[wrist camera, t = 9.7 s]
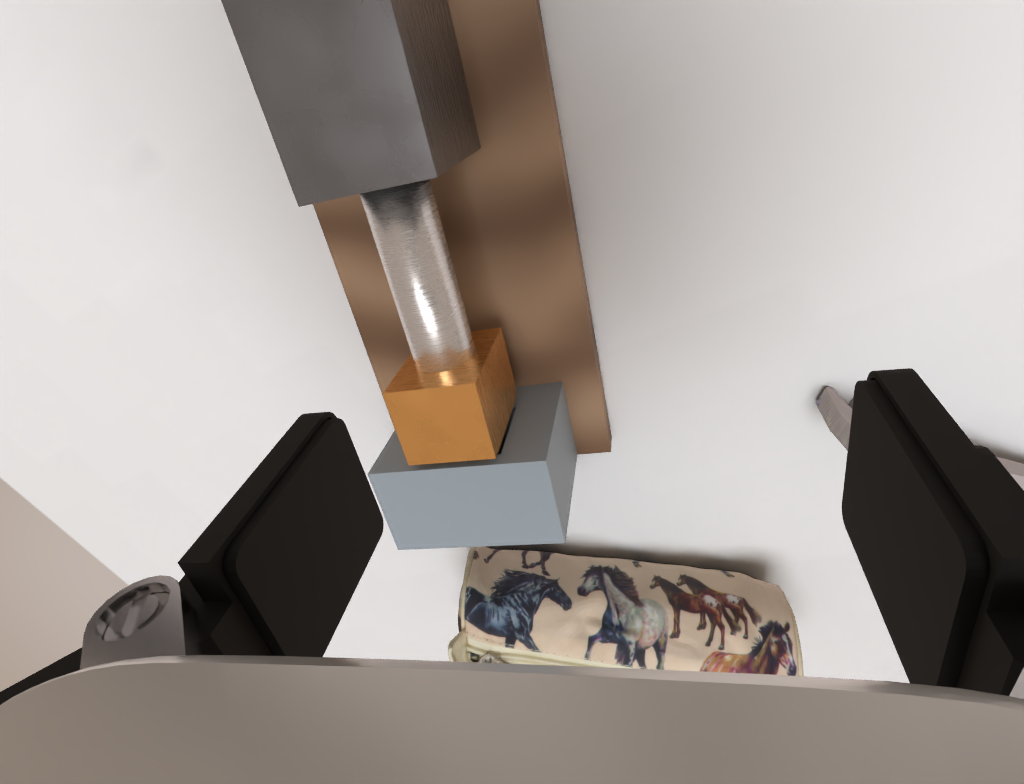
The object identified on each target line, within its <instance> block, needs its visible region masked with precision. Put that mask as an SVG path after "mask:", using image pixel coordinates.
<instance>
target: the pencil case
mask: <svg viewBox="0 0 1024 784" xmlns="http://www.w3.org/2000/svg"><path fill="white" fill-rule="evenodd" d="M458 627H459V633H458V634H457V635H456V636H455V637H454V639H453V640H451V641H450V643H449V645H448V655H449V660H450V662H477V663H504V664H531V665H557V666H583V667H607V668H631V669H654V670H678V671H701V672H725V673H748V674H769V675H787V676H803V662H802V653H801V646H800V639H799V634H798V629H797V625H796V621H795V617H794V614H793V612H792V609H791V607H790V605H789V603H788V601H787V599H786V597H785V595H784V592H783V591H782V590H781V588H780V587H779V586H777V585H774V584H770V583H767V582H765V581H761V580H758V579H753V578H752V577H750V576H748V575H745V574H742V573H738V572H730V571H722V570H713V569H700V568H695V567H689V566H682V565H669V564H657V563H649V562H642V561H636V560H629V559H618V558H596V557H588V556H572V555H564V554H559V553H551V552H542V551H527V550H496V549H493V548H490V547H488V546H481V547H471V549H470V551H469V554H468V558H467V563H466V568H465V574H464V581H463V585H462V588H461V592H460V599H459V612H458Z"/></svg>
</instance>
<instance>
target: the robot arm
mask: <svg viewBox="0 0 1024 784" xmlns="http://www.w3.org/2000/svg"><path fill="white" fill-rule="evenodd" d="M842 515H843V521H844V524H845V527H846V530H847V532H848V535H849V537H850V540H851V542H852V544H853V547H854V549H855V552H856V554H857V556H858V559H859V561H860V564H861V566H862V568H863V571H864V573H865V576H866V578H867V581H868V583H869V585H870V588H871V590H872V593H873V595H874V597H875V600H876V602H877V605H878V607H879V609H880V612H881V614H882V617H883V619H884V622H885V624H886V626H887V629H888V631H889V634H890V636H891V638H892V641H893V643H894V646H895V648H896V650H897V653H898V655H899V658H900V660H901V663H902V665H903V667H904V670H905V672H906V675H907V677H908V679H909V682H910V683H900V682H890V681H873V680H856V679H838V678H821V677H804V676H787V675H769V674H748V673H725V672H701V671H678V670H654V669H631V668H607V667H583V666H557V665H531V664H504V663H477V662H449V661H422V660H392V659H360V658H328V657H323V655H324V653H325V651H326V649H327V647H328V645H329V643H330V641H331V638H332V636H333V634H334V632H335V630H336V628H337V626H338V624H339V622H340V620H341V618H342V616H343V614H344V612H345V610H346V608H347V605H348V603H349V601H350V599H351V597H352V595H353V593H354V591H355V589H356V587H357V585H358V583H359V581H360V579H361V577H362V575H363V572H364V570H365V568H366V566H367V564H368V562H369V560H370V558H371V556H372V554H373V552H374V550H375V548H376V546H377V544H378V542H379V539H380V537H381V535H382V532H383V518H382V515H381V512H380V510H379V507H378V505H377V502H376V500H375V497H374V495H373V492H372V490H371V487H370V485H369V482H368V480H367V477H366V475H365V472H364V470H363V467H362V465H361V462H360V460H359V457H358V455H357V452H356V450H355V447H354V445H353V442H352V440H351V437H350V435H349V432H348V430H347V427H346V425H345V423H344V421H343V420H342V419H339V418H337V417H336V416H335V415H334V414H333V413H331V412H322V413H309V414H302V415H301V416H300V417H299V418H298V419H297V420H296V421H295V423H294V424H293V425H292V426H291V427H290V429H289V430H288V431H287V432H286V433H285V435H284V436H283V437H282V438H281V439H280V441H279V442H278V443H277V444H276V445H275V447H274V448H273V449H272V450H271V451H270V453H269V454H268V455H267V456H266V457H265V459H264V460H263V461H262V462H261V463H260V465H259V466H258V467H257V468H256V469H255V471H254V472H253V473H252V474H251V475H250V477H249V478H248V479H247V480H246V481H245V483H244V484H243V485H242V486H241V487H240V489H239V490H238V491H237V492H236V493H235V495H234V496H233V497H232V498H231V499H230V501H229V502H228V503H227V504H226V505H225V507H224V508H223V509H222V510H221V511H220V513H219V514H218V515H217V516H216V517H215V519H214V520H213V521H212V522H211V523H210V525H209V526H208V527H207V528H206V529H205V531H204V532H203V533H202V534H201V535H200V537H199V538H198V539H197V540H196V541H195V543H194V544H193V545H192V546H191V547H190V549H189V550H188V551H187V552H186V553H185V555H184V556H183V557H182V558H181V559H180V561H179V562H178V564H179V565H180V567H181V568H182V570H183V571H184V573H185V575H184V577H183V578H182V579H181V580H180V582H179V583H178V581H177V580H175V579H174V578H172V577H170V576H161V575H160V576H154V577H149V578H146V579H143V580H140V581H138V582H135V583H133V584H131V585H129V586H128V587H126V588H124V589H122V590H121V591H119V592H118V593H116V594H115V595H114V596H112V597H111V598H110V599H108V600H107V601H106V602H105V603H104V604H103V605H102V606H101V607H100V608H99V609H98V610H97V611H96V612H95V613H94V615H93V616H92V618H91V620H90V621H89V622H88V624H87V627H86V629H85V632H84V637H83V647H82V648H80V649H78V650H77V651H75V652H73V653H71V654H69V655H67V656H65V657H64V658H62V659H60V660H58V661H56V662H54V663H53V664H51V665H49V666H47V667H45V668H43V669H42V670H40V671H38V672H36V673H35V674H32V675H31V676H29V677H27V678H25V679H23V680H22V681H20V682H18V683H16V684H14V685H12V686H10V687H9V688H7V689H5V690H3V691H2V692H0V784H1024V490H1023V489H1022V488H1021V487H1020V485H1019V484H1018V483H1017V482H1016V480H1015V479H1014V478H1013V477H1012V476H1011V474H1010V473H1009V472H1008V471H1007V470H1006V468H1005V467H1004V466H1003V465H1002V463H1001V462H1000V461H999V460H998V459H997V457H996V456H995V455H994V454H993V453H992V452H991V451H990V450H989V449H988V448H985V447H982V446H974V445H973V443H972V442H971V441H970V440H969V438H968V437H967V436H966V435H965V433H964V432H963V431H962V429H961V428H960V427H959V426H958V424H957V423H956V422H955V421H954V419H953V418H952V417H951V416H950V414H949V413H948V412H947V411H946V409H945V408H944V407H943V406H942V404H941V403H940V402H939V400H938V399H937V398H936V397H935V395H934V394H933V393H932V392H931V390H930V389H929V388H928V387H927V385H926V384H925V383H924V382H923V380H922V379H921V378H920V377H919V375H918V374H917V373H916V372H915V371H914V370H913V369H910V368H908V369H895V370H881V371H872V372H870V373H869V375H868V378H867V380H865V381H858V382H857V383H856V385H855V390H854V399H853V408H852V417H851V427H850V436H849V445H848V454H847V463H846V472H845V481H844V490H843V499H842Z"/></svg>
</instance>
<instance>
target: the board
mask: <svg viewBox="0 0 1024 784" xmlns="http://www.w3.org/2000/svg"><path fill="white" fill-rule="evenodd" d="M448 3H449V8H450V12H451V17H452V21H453V26H454V30H455V34H456V39H457V43H458V48H459V52H460V56H461V61H462V65H463V70H464V74H465V78H466V83H467V87H468V92H469V96H470V101H471V105H472V109H473V114H474V118H475V123H476V127H477V131H478V136H479V140H480V145H481V149H479V150H478V151H476V152H475V153H473V154H472V155H470V156H469V157H467V158H466V159H464V160H463V161H461V162H460V163H458V164H457V165H455V166H454V167H452V168H451V169H449V170H448V171H446V172H445V173H443V174H442V175H440V176H439V177H437V178H433V179H430V182H431V186H432V190H433V193H434V197H435V201H436V205H437V208H438V212H439V216H440V219H441V223H442V227H443V230H444V234H445V238H446V242H447V245H448V249H449V253H450V256H451V260H452V264H453V267H454V271H455V275H456V279H457V282H458V286H459V290H460V293H461V297H462V301H463V304H464V308H465V312H466V316H467V319H468V323H469V327H470V330H471V331H478V330H485V329H492V328H499V327H501V329H502V333H503V337H504V341H505V345H506V349H507V353H508V357H509V361H510V366H511V370H512V374H513V378H514V382H515V386H516V387H519V386H528V385H537V384H546V383H555V382H563V386H564V391H565V396H566V401H567V406H568V411H569V416H570V421H571V426H572V431H573V436H574V441H575V445H576V450H577V454H588V453H601V452H611V439H612V437H611V431H610V425H609V419H608V413H607V407H606V401H605V395H604V389H603V383H602V377H601V371H600V365H599V359H598V353H597V347H596V341H595V335H594V329H593V323H592V317H591V311H590V305H589V300H588V294H587V288H586V282H585V276H584V270H583V264H582V258H581V252H580V246H579V240H578V234H577V228H576V222H575V216H574V210H573V204H572V198H571V192H570V186H569V180H568V174H567V168H566V162H565V156H564V150H563V144H562V138H561V132H560V126H559V120H558V114H557V108H556V102H555V96H554V90H553V84H552V78H551V72H550V66H549V60H548V54H547V48H546V42H545V36H544V30H543V24H542V18H541V12H540V6H539V0H448ZM313 205H314V208H315V211H316V214H317V216H318V219H319V222H320V225H321V227H322V230H323V233H324V236H325V238H326V241H327V244H328V247H329V249H330V252H331V255H332V258H333V260H334V263H335V266H336V269H337V271H338V274H339V277H340V280H341V282H342V285H343V288H344V291H345V293H346V296H347V299H348V302H349V304H350V307H351V310H352V313H353V315H354V318H355V321H356V324H357V326H358V329H359V332H360V335H361V337H362V340H363V343H364V346H365V348H366V351H367V354H368V356H369V359H370V362H371V365H372V367H373V370H374V373H375V376H376V378H377V381H378V384H379V387H380V389H381V392H382V395H383V392H384V391H385V389H386V388H387V387H388V385H389V384H390V382H391V381H392V380H393V378H394V377H395V376H396V374H397V373H398V371H399V370H400V369H401V367H402V366H403V364H404V363H405V362H406V360H407V359H408V358H409V356H410V355H411V351H410V348H409V345H408V342H407V338H406V335H405V332H404V329H403V326H402V323H401V320H400V317H399V314H398V311H397V308H396V305H395V302H394V299H393V296H392V292H391V289H390V286H389V283H388V280H387V277H386V274H385V271H384V268H383V265H382V262H381V259H380V256H379V253H378V250H377V247H376V243H375V240H374V237H373V234H372V231H371V228H370V225H369V222H368V219H367V216H366V213H365V210H364V207H363V204H362V201H361V197H360V194H357V195H352V196H347V197H342V198H338V199H333V200H328V201H323V202H319V203H314V204H313ZM383 398H384V397H383ZM384 400H385V399H384ZM385 403H386V402H385ZM386 406H387V405H386ZM387 409H388V408H387ZM388 411H389V410H388ZM389 414H390V413H389ZM390 417H391V416H390ZM391 420H392V419H391ZM392 422H393V421H392ZM393 425H394V424H393ZM394 428H395V427H394Z"/></svg>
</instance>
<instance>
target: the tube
mask: <svg viewBox="0 0 1024 784" xmlns="http://www.w3.org/2000/svg"><path fill="white" fill-rule="evenodd" d="M360 197H361V201H362V204H363V207H364V210H365V213H366V216H367V219H368V222H369V225H370V228H371V231H372V234H373V237H374V240H375V243H376V247H377V250H378V253H379V256H380V259H381V262H382V265H383V268H384V271H385V274H386V277H387V280H388V283H389V286H390V289H391V292H392V296H393V299H394V302H395V305H396V308H397V311H398V314H399V317H400V320H401V323H402V326H403V329H404V332H405V335H406V338H407V342H408V345H409V348H410V351H411V355H410V356H409V358H408V359H407V360H406V362H405V363H404V364H403V366H402V367H401V369H400V370H399V371H398V373H397V374H396V376H395V377H394V378H393V380H392V381H391V382H390V384H389V385H388V387H387V388H386V389H385V391H384V392H383V397H384V399H385V402H386V405H387V408H388V410H389V413H390V416H391V419H392V421H393V424H394V427H395V430H396V432H397V435H398V438H399V441H400V443H401V446H402V449H403V452H404V454H405V457H406V460H407V463H408V465H422V464H434V463H447V462H459V461H472V460H485V459H496V457H497V455H499V454H501V452H502V445H501V442H502V439H503V436H504V433H505V430H506V427H507V424H508V421H509V418H510V415H511V412H512V409H513V406H514V403H515V400H516V397H517V390H516V386H515V382H514V378H513V374H512V370H511V366H510V361H509V357H508V353H507V349H506V345H505V341H504V337H503V333H502V329H501V327H499V328H492V329H485V330H478V331H471V330H470V327H469V323H468V319H467V316H466V312H465V308H464V304H463V301H462V297H461V293H460V290H459V286H458V282H457V279H456V275H455V271H454V267H453V264H452V260H451V256H450V253H449V249H448V245H447V242H446V238H445V234H444V230H443V227H442V223H441V219H440V216H439V212H438V208H437V205H436V201H435V197H434V193H433V190H432V186H431V182H430V179H428V180H423V181H418V182H414V183H409V184H404V185H399V186H395V187H390V188H385V189H380V190H376V191H371V192H366V193H361V194H360Z"/></svg>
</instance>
